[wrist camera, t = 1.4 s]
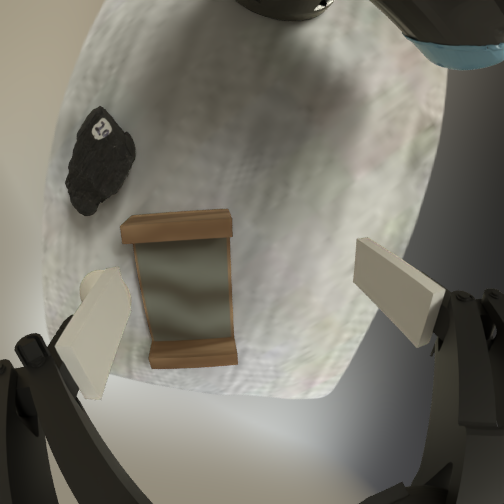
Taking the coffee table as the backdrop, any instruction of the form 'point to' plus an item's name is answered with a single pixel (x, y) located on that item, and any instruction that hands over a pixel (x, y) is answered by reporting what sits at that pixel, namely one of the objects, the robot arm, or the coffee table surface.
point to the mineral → (98, 161)
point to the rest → (185, 286)
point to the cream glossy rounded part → (90, 282)
